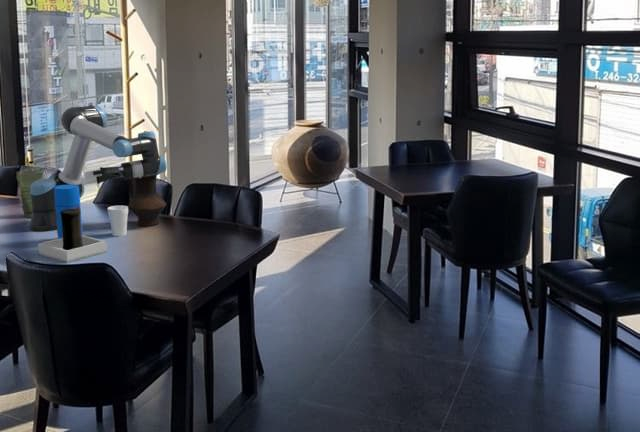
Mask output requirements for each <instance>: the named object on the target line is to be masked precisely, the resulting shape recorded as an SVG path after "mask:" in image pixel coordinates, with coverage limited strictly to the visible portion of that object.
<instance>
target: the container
mask: <svg viewBox="0 0 640 432" xmlns="http://www.w3.org/2000/svg"><path fill="white" fill-rule="evenodd" d="M80 213H81V214H82V210H81V211H80V210H79V209H66V210H62V211H60V214H61V218H62V221H61V222H62V233H63V246H62V248H63V249H64V250H71V249H75V248H78V247H82V246H83V244H82V236H81V222H80V221H81V220H82V219H81V220H80Z"/></svg>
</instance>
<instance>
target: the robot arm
mask: <svg viewBox="0 0 640 432" xmlns="http://www.w3.org/2000/svg"><path fill="white" fill-rule="evenodd" d="M107 117H108V116H107V114H106V112H105V110H104V109H103V108H102V107H101V106H99V105H92V104H90V105H87V106H72V107H68V108H67V109H66V110H65V111H63V113H62V114H61V118H60V123H61V126H62V128H63V129H64V130H65V131H66V132H67V133H69V134H71V135H73V139H72V142H71V145H70V149H69V151H68V155H67V158H66V161H65V164H64V167H63V171H61V172H59V173H58V175H57V178H56V180H55V179H54V178H44V179H43V178H42V179H41V180H37V181H35V182H33V183H32V184H31V186H30V188H31V191H30V194H31V201H32V217H30V223H29V229H30V230H31V231H33V232H34V231H35V232H48V231H49V232H50V231H54V230H55V231H56V230H57V221H56V209H55V196H54V187H56V186H60V185H78V186H79V193H80V199H81V198H82V197H83V195H84V193H85V190H86V189H85V185H89V184H90V185H91V184H96V183H97V185H99V184H100V183H103V182H107V181H111V180H114V179H115V180H116V179H120V177H121V176H122V178H123V179H124V180H125V181H126V180H128V179H132V178H133V177H134V178H137V177H139V178H141V177H142V176H148V175H154V174H159V173H160V174H162V173H165V172H166V171H167V161H166V158H165V157H164V156H161V155H160V153H159V149H158V143H157V139H156V135H155V132H154V131H153V130H151V131H150V130H149V131H143V132H139V133H138V134H137V137H132V138H127V137H125V136H123V135H121V134H118V133H116V132H114V131H112V130H109V129H108V128H106V127H107V123H108V118H107ZM93 142H94V143H96V144H98V145H100V146H103V147H105V148H107V149H109V150H112V151H113V152H112V153H113V154H114V155H115V156H116V157H117V158H128V157H133V156H139V155H141V158H142V159H138V160H131V161H126V162H122V163H121V164H120V165H119V166H108V167H105V166H104V167H103V166H100V167H99V169H95V170H88V171H84V172H83V170H84V167H85V165H86V162H87V159H88V155H89V153H90V152H89V151H90V149H91V146H92V143H93ZM82 173H84V177H83V178H82ZM160 174H159V175H160Z"/></svg>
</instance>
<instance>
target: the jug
mask: <svg viewBox="0 0 640 432" xmlns="http://www.w3.org/2000/svg"><path fill="white" fill-rule="evenodd" d="M160 174H161V173H159V174H154V175H148V176H142V177H141V178H139V177H137V178H134V177H133V178H132V179H127V180H128V181H127V182H128V189H129V194H130V198H131V200H130V202H129V204H128V205H127V207H128V210H129V211H131V212H132V213H133V214H134V215H135V216H136V217H137V221H136V226H138V227H151V226H153V227H154V226H155V225H158V224H160V220H159V216H160V214H161V213H162V211H163V210H164V209H165V208H166V206H167V202H166V201H165V200H164V199H163V198H162V197H161V196H160V195H159V193H158V191H157V177H158V175H160Z"/></svg>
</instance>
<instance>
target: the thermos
mask: <svg viewBox="0 0 640 432" xmlns="http://www.w3.org/2000/svg"><path fill="white" fill-rule="evenodd" d="M54 196H55V209H56V221H57V229H56V230H57V231H56V232H57V239H60V238H63V233H62V222H61V221H62V218H61V214H60V211H62V210H66V209H79V210H80V211H81V213H80V220H81V221H80V222H81V235H83V222H82V221H83V220H82V209H81V208H82V207H81V198H80V193H79V186H78V185H60V186H56V187H54Z"/></svg>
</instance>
